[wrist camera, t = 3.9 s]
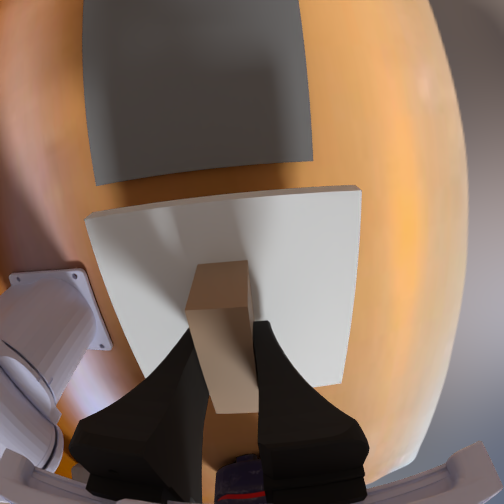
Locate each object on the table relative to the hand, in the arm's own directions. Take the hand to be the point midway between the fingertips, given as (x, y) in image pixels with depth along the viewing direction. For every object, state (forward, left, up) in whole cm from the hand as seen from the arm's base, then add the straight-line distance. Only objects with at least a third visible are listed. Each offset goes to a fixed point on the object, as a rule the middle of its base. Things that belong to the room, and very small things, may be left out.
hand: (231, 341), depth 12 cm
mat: (-2, +13, -9) cm, 16 cm away
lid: (0, 0, -2) cm, 2 cm away
